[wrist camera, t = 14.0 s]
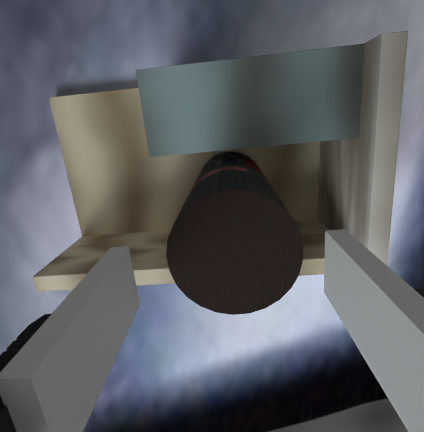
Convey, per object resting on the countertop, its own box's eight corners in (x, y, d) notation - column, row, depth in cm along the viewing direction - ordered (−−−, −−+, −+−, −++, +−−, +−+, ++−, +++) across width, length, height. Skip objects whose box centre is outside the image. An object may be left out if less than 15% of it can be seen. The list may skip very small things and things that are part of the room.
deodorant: (190, 160, 27) (148, 208, 13) (256, 143, 26) (290, 173, 12) (207, 222, 28) (187, 325, 14) (269, 207, 28) (314, 301, 14)
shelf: (89, 243, 31) (19, 307, 20) (55, 98, 27) (-56, 85, 16) (328, 226, 29) (385, 286, 19) (331, 67, 25) (407, 30, 14)
